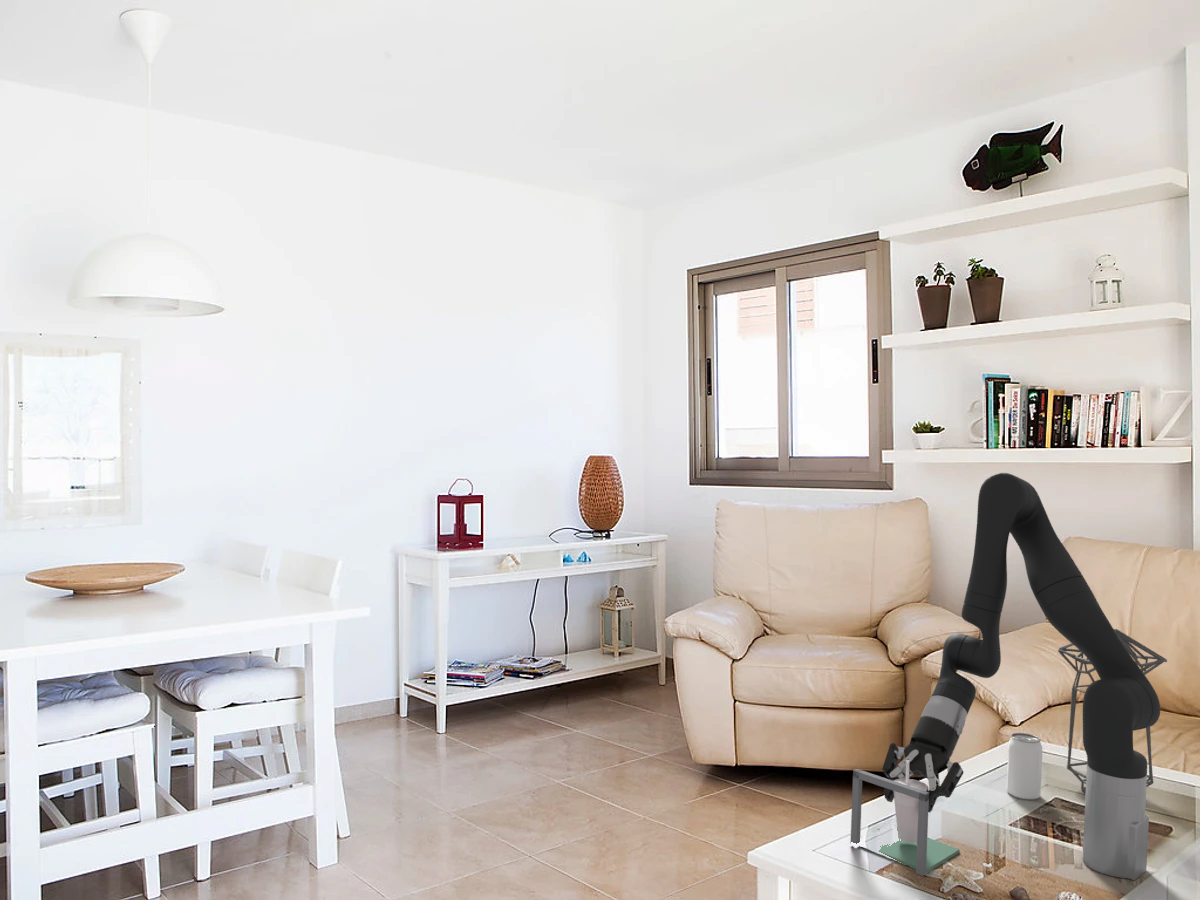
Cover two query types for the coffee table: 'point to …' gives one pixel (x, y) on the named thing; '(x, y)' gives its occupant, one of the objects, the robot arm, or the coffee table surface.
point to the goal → (913, 854)
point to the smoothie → (907, 809)
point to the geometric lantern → (1061, 650)
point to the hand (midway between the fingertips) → (905, 805)
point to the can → (1024, 766)
